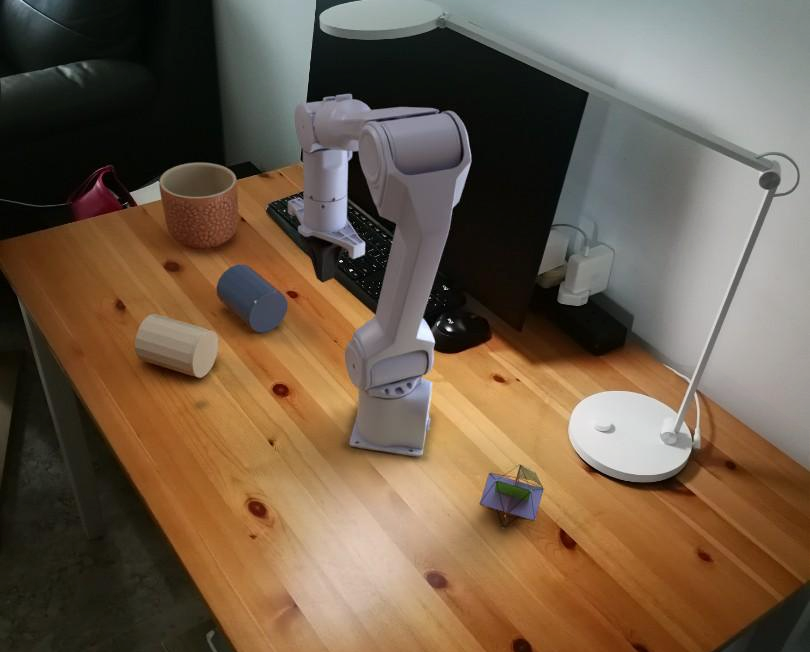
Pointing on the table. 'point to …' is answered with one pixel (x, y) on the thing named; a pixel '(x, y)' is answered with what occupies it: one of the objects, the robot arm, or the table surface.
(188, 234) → the planter
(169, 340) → the cream cup
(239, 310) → the blue cup
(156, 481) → the table surface
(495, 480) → the geometric puzzle
